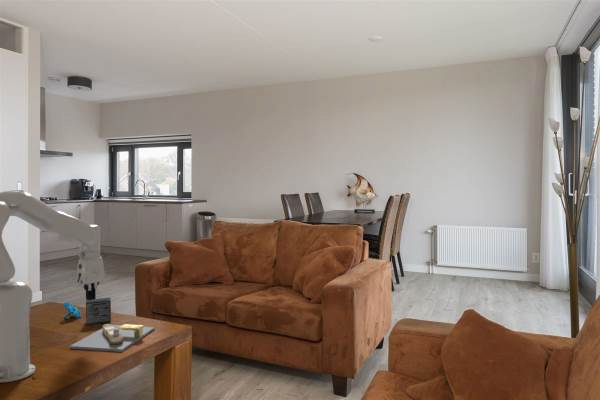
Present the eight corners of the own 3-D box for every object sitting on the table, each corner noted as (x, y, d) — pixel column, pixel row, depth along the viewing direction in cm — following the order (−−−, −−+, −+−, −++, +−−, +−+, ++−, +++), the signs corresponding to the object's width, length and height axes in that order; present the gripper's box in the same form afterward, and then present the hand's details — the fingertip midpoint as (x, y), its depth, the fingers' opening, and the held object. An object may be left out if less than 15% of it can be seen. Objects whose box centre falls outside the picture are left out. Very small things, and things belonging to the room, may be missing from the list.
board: (121, 352, 164) (121, 349, 164) (69, 348, 167) (69, 345, 167) (154, 329, 190) (154, 327, 190) (108, 326, 193) (108, 324, 193)
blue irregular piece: (78, 317, 202) (63, 302, 201) (68, 326, 200) (53, 312, 200) (85, 313, 212) (71, 299, 212) (76, 322, 211) (61, 308, 211)
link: (124, 342, 170) (124, 330, 170) (111, 345, 167) (111, 332, 167) (112, 328, 187) (112, 317, 186) (99, 331, 184) (99, 319, 184)
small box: (111, 318, 205) (111, 296, 205) (111, 322, 199) (110, 300, 199) (86, 321, 201) (86, 299, 201) (85, 325, 195) (85, 302, 195)
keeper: (138, 338, 176) (138, 328, 176) (119, 337, 177) (119, 327, 177) (143, 335, 180) (143, 325, 180) (124, 333, 181) (124, 324, 181)
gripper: (80, 258, 167) (81, 305, 167) (111, 252, 181) (112, 295, 181) (67, 257, 170) (67, 302, 170) (98, 251, 184) (99, 294, 184)
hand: (90, 299), depth 176 cm, fingers closed
